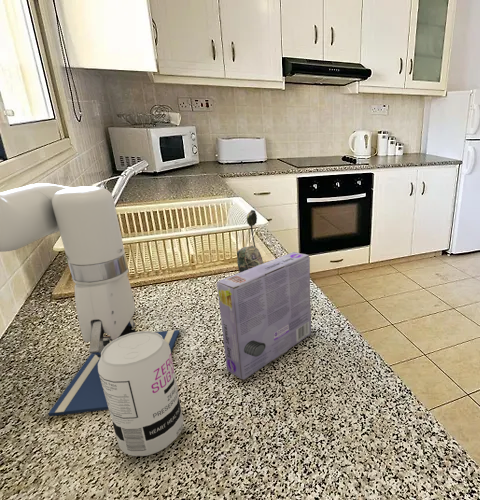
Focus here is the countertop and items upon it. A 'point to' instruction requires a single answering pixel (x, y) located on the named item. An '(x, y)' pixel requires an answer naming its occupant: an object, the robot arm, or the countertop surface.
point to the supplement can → (141, 392)
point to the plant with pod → (249, 249)
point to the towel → (92, 386)
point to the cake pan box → (264, 312)
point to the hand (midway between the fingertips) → (122, 359)
